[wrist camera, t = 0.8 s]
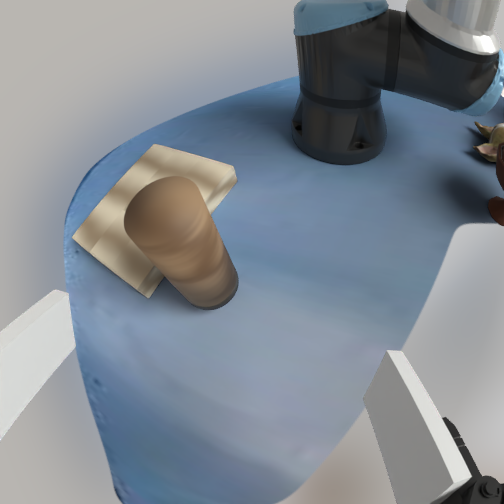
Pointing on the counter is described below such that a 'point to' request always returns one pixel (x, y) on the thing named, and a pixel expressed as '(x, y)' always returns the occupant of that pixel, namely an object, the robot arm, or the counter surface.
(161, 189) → the walnut peg
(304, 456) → the counter surface
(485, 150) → the ceramic sculpture
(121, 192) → the birch board
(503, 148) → the ice cream bowl
